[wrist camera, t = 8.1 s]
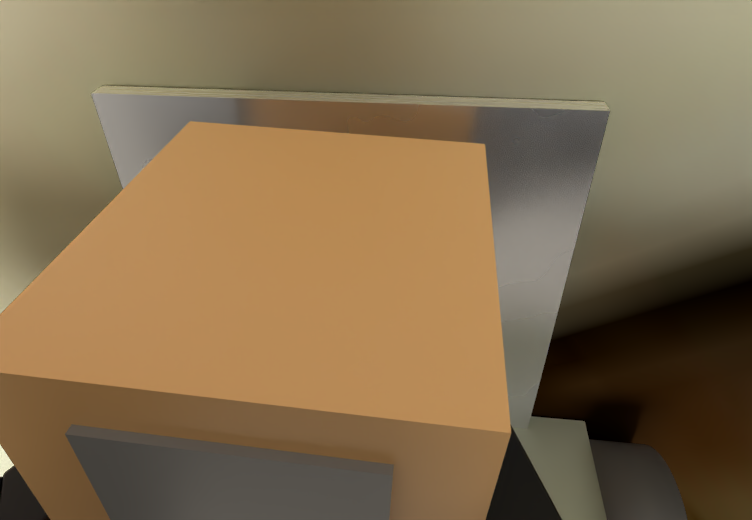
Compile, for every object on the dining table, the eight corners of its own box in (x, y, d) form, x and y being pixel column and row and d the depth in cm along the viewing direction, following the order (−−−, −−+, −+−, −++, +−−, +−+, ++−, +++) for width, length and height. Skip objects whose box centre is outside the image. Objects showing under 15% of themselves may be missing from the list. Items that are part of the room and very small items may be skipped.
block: (434, 456, 13) (423, 734, 9) (249, 433, 13) (157, 691, 9) (484, 143, 8) (511, 444, 4) (189, 120, 8) (-61, 375, 4)
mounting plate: (604, 101, 9) (609, 111, 9) (526, 416, 14) (527, 428, 14) (102, 85, 10) (91, 93, 10) (197, 386, 15) (192, 397, 15)
